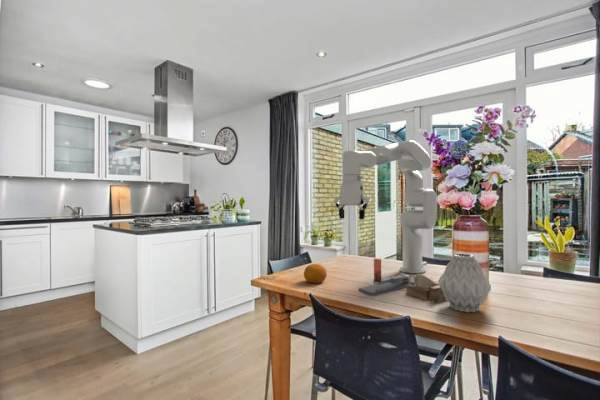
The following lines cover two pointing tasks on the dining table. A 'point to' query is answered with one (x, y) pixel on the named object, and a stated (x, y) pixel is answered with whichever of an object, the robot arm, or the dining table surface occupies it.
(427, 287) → the stone
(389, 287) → the flat grey bar
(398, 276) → the lever
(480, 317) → the dining table surface
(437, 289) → the cradle
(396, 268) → the dining table surface
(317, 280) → the fruit
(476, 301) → the vase
